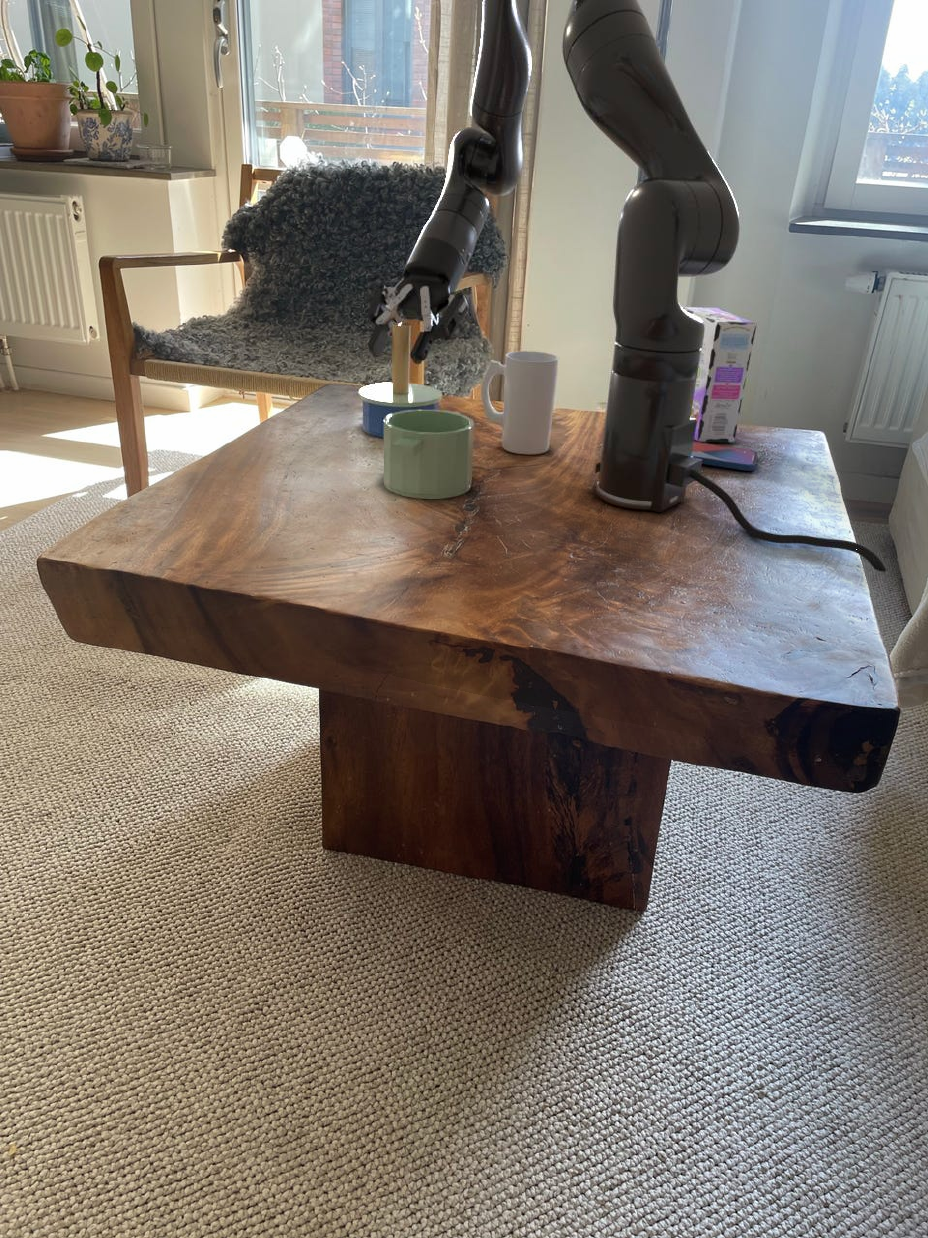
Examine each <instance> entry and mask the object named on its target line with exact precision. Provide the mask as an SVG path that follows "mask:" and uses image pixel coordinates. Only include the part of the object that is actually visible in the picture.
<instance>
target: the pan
mask: <svg viewBox="0 0 928 1238" xmlns="http://www.w3.org/2000/svg"><path fill="white" fill-rule="evenodd" d="M439 408H440V401H439V402H437V403H435V404H431V405H426V406H418V407H391V406H382V405H377V404H372V403H369V402H366V401H364V400H362V430H363V431H364V432H365V433H367V434H368V435H371V436H373V437H378V438H382V439H384V418H385V417H386V416H388V415H390V414H392V413H396V412H400V411H406V410H418V409H419V410H420V409H422V410H440V409H439Z"/></svg>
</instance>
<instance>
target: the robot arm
mask: <svg viewBox="0 0 928 1238" xmlns="http://www.w3.org/2000/svg"><path fill="white" fill-rule="evenodd" d="M561 45H562V46H561V50H562V52H561V53H562V57H563V63H564V65H565V68H566V71H567V73H568V77H569V78H570V81H571V83H572V86H573V88H574V91H575V93H576V95H577V98H578V101H579V102H580V104H581V106H582V108H583V110H584V112H585V114H586V115H587V116H588V118H589V119H590V120H591V121H592V122H593V124H594V125H595V126H596V127H597V128H598V129H599V130H600V132H602V133H603V134H604V135H605V136H606V137H607V138H608V139H609V140H610V141H611V143H613V144H614V145H615V146H617V148H618V149H620V150H621V151H622V152H623V153H624V154H625V155H626V156H627V157H628V158H629V159H630V160H631V161H632V162H634V163H635V165H637V167H638V168H639V169H640V170H641V172H642V173H643V174H644V176H645V179H643V180H642V181H640V182H638V183H637V184H636V185H635V186H634V187H633V188H632V189H631V191H630V192H629V194H628V195H627V197H626V199H625V201H624V205H623V207H622V210H621V214H620V217H619V222H618V230H617V235H616V236H617V237H616V247H615V249H616V250H615V263H614V264H615V265H614V266H615V267H614V278H613V279H614V280H613V281H614V282H613V294H612V295H613V296H612V311H613V317H614V323H615V336H614V343H613V353H612V362H611V370H610V377H609V386H608V396H607V404H606V412H605V420H604V429H603V435H602V436H603V437H602V446H601V455H600V462H598V463H596V464H595V469H594V474H597V473H598V476H597V477H598V478H597V479H598V480H597V483H596V490H595V493H596V495H597V497H598V498H599V499H601V500H602V501H604V502H606V503H608V504H609V505H610V504H611V505H614V506H616V507H620V508H624V509H631V510H640V511H641V510H642V511H652V512H654V513H655V512H656V513H662V512H664V511H666V510H667V509H670V508H672V507H674V506H676V505H677V504H679V503H680V502H682V501H683V502H684V500H685V496H686V492H687V491H686V490H687V486H688V485H690V484H692V483H695V482H697V483H698V484H700V485H702V486H703V487H705V488H706V489H707V490H709V491H710V492H711V493H713V494H714V495H715V496H717V497H718V498H719V499H720V500H721V501H722V502H723V503H724V504H725V506H726V507H727V508H728V510H729V512H730V513H731V515H732V517H733V519H734V520H735V521H736V522H737V523H738V525H739V526H741V528H742V529H743V530H744V531H746V532H747V533H748V534H749V535H750V536H752V537H754V538H756V539H758V540H762V541H765V542H769V543H774V544H782V545H783V544H784V545H785V544H790V545H791V544H795V545H796V544H799V545H809V546H814V547H819V548H820V547H821V548H829V549H830V548H831V549H840V550H846V551H850V552H853V553H856V554H858V555H859V556H861V557H863V558H864V559H865V560H867V562H868V563H869V564H870V565H871V566H872V567H873V569H874V570H876V571H878V572H882V573H885V572H887V569H886V567H885V565H884V563H883V562H882V560H881V559H880V558H879V556H877V554H875V552H873V551H872V550H871V549H870V548H868V547H866V546H865V545H862V544H861V543H858V542H854V541H851V540H845V539H837V538H827V537H826V538H825V537H818V536H812V535H806V534H805V535H804V534H778V533H772V532H769V531H764V530H762V529H759V528H757V527H756V526H754V525H753V524H752V523H751V522H750V521H748V519H747V518H746V517H745V516H744V515H743V513H742V512H741V510H740V509H739V506H738V505H737V504H736V502H735V500H734V499H733V498H732V497H731V496H730V494H728V493H727V492H726V491H725V490H724V489H723V488H722V487H720V486H719V485H718V484H716V483H715V482H713V481H712V480H710V479H709V478H707V477H706V476H704V475H703V474H702V473H701V469H702V465H703V464H702V459H698V458H694V457H692V456H691V455H692V449H693V443H694V442H695V439H694V437H695V431H696V425H697V420H696V419H695V418H692V417H691V411H692V405H693V398H694V392H695V386H696V379H697V374H698V368H699V361H700V355H701V349H702V345H703V339H704V331H705V326H704V322H703V321H702V320H701V319H700V318H699V317H697V316H695V315H693V314H691V313H689V312H687V311H685V310H684V309H683V308H682V307H683V306H681V304H680V302H679V299H678V288H679V287H678V285H679V278H689V277H690V278H694V277H702V276H707V275H712V274H715V273H717V272H719V271H721V270H722V269H724V268H725V267H726V266H727V265H728V264H729V263H730V262H731V260H732V259H733V257H734V255H735V253H736V251H737V248H738V243H739V240H740V239H739V238H740V216H739V211H738V206H737V203H736V200H735V197H734V195H733V193H732V190H731V189H730V186H729V185H728V183H727V181H726V179H725V178H724V176H723V174H722V172H721V171H720V168H718V165H717V164H716V162H715V161H714V159H713V158H712V156H711V154H710V152H709V151H708V149H707V147H706V146H705V144H704V143H703V141H702V139H701V137H700V136H699V134H698V132H697V130H696V128H695V127H694V125H693V122H692V121H691V118H690V115H689V114H688V112H687V110H686V107H685V104H684V103H683V101H682V98H681V96H680V94H679V92H678V90H677V87H676V86H675V84H674V81H673V80H672V77H671V75H670V73H669V71H668V67H667V66H666V63H665V61H664V59H663V55H662V53H661V50H660V47H659V45H658V43H657V40H656V37H655V36H654V33H653V31H652V28H651V27H650V24H649V22H648V19H647V18H646V16H645V14H644V12H643V9H642V8H641V5H640V3H639V2H638V0H572V1H571V4H570V6H569V10H568V13H567V16H566V21H565V25H564V29H563V33H562V44H561ZM532 68H533V56H532V48H531V44H530V40H529V37H528V34H527V30H526V28H525V25H524V22H523V19H522V16H521V13H520V9H519V6H518V1H517V0H482V20H481V38H480V46H479V54H478V60H477V66H476V71H475V76H474V83H473V87H472V94H471V98H470V107H469V109H470V110H469V111H470V116H471V118H472V120H473V122H474V123H475V124H476V125H477V126H478V127H479V128H476V127H472V126H470V127H469V126H467V127H465V128H463V129H460V131H458V132H457V133H456V134H455V136H454V137H453V139H452V141H451V144H450V148H449V153H448V160H447V171H446V176H445V181H444V185H443V189H442V192H441V195H440V197H439V199H438V201H437V203H436V205H435V207H434V210H433V211H432V214H431V216H430V217H429V219H428V220H427V222H426V224H425V225H424V226H423V229H422V230H421V233H420V235H419V236H418V239H417V241H416V242H415V245H414V247H413V249H412V252H411V254H410V256H409V258H408V259H407V262H406V263H405V266H404V271H403V275H402V279H401V280H400V281H399V282H398V283H397V284H396V285H395V286H386V284H385V283H383V282H378V284H376V286H375V289H374V292H373V296H372V299H371V301H370V305H369V307H368V311H367V314H366V318H367V319H368V321H369V323H370V324H371V326H372V327H373V329H374V330H373V332H372V334H371V336H370V337H369V340H368V341H367V347H368V351H369V352H370V353H371V355H372V356H373V357H374V358H380V357H381V355H382V353H383V351H384V349H385V346H386V345H387V342H388V340H389V338H390V335H391V334H392V324H394V323H407V322H408V321H409V320H410V321H411V320H418V321H419V322H422V330H423V331H419V333H418V336H417V337H416V340H415V342H414V344H413V346H412V348H411V350H410V359H411V360H412V362H413V363H414V364H415V365H421V364H422V362H424V361H425V360H426V359H427V358H428V355H429V354H430V352H431V349H432V347H433V345H434V343H436V342H437V341H438V340H442V339H443V341H449V340H451V338H452V337H453V335H454V333H455V332H456V330H457V329H458V327H459V326H460V323H461V322H462V320H463V319H464V317H465V315H466V314H467V313H468V311H469V309H470V306H469V304H468V300H467V299H466V297H465V295H464V293H462V292H457V293H456V291H457V289H458V287H459V285H460V282H461V281H462V278H463V276H464V274H465V272H466V270H467V267H468V265H469V262H470V261H471V258H472V256H473V253H474V250H475V247H476V244H477V241H478V238H479V236H480V234H481V232H482V230H483V228H484V226H485V223H486V221H487V219H488V217H489V213H490V203H489V199H488V197H487V196H486V195H485V193H484V192H483V191H485V192H487V193H490V194H492V195H495V196H498V197H504V196H506V195H508V194H511V192H513V191H514V189H516V187H517V185H518V183H519V181H520V179H521V176H522V172H523V165H524V163H523V162H524V161H523V159H524V157H523V155H524V154H523V152H524V151H523V141H522V120H523V119H522V118H523V111H524V107H525V103H526V99H527V94H528V90H529V87H530V86H529V85H530V82H531V76H532V70H533V69H532ZM481 129H482V130H481ZM398 309H399V311H400V313H399V311H398ZM444 310H445V311H444ZM443 311H444V313H443V314H442V316H441V317H440V319H439V314H440V313H441V312H443ZM856 549H857V550H856Z"/></svg>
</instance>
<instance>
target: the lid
mask: <svg viewBox="0 0 928 1238" xmlns="http://www.w3.org/2000/svg"><path fill="white" fill-rule="evenodd" d="M410 353H411V324H410V323H407V322H405V323H394V324H392V332H391V382H382V383H375V384H374V383H373V384H369V385H366V386H363V387H361V388H360V389H359V390H358V397H359V398H360V400H362V401H363V400H364V401H366V402H369V403H372V404H377V405H382V406H391V407H418V406H426V405H431V404H435V403H437V402H439V403H440V402H441V401H442V399H443V392H442V391H441V390H440V389H438V388H435V387H434V386H433V387H432V386H429V385H425V384H419V383H412V382H411V379H410V378H411V377H410V375H411V356H410ZM410 382H411V383H410Z"/></svg>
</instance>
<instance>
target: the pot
mask: <svg viewBox="0 0 928 1238" xmlns="http://www.w3.org/2000/svg"><path fill="white" fill-rule="evenodd" d="M474 441H475V421H474V419H472V418H471V417H469V416H467V415H465V414H462V413H461V412H459V411H452V410H440V409H439V410H422V409H420V410H419V409H418V410H406V411H400V412H396V413H392V414H390V415H388V416H386V417H385V418H384V438H383V486H384V488H386V489H387V490H388V491H389V492H391V493H393V494H396V495H398V496H402V497H406V498H413V499H419V500H444V499H450V498H456V497H458V496H462V495H464V494H466V493H468V491H470V490H471V487H472V484H473V483H472V481H473V462H474Z"/></svg>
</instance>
